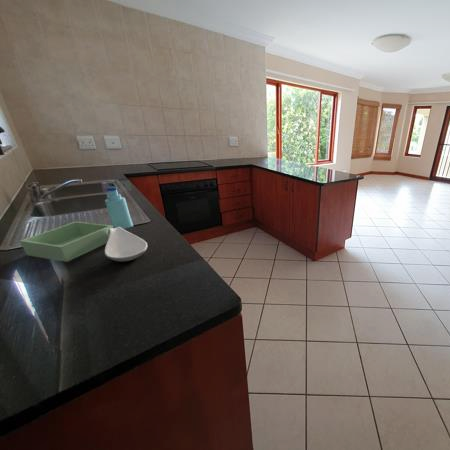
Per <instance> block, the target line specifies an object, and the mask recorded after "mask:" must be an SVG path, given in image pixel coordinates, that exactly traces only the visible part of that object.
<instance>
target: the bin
mask: <svg viewBox="0 0 450 450" xmlns="http://www.w3.org/2000/svg"><path fill="white" fill-rule="evenodd" d="M113 228H114V227H113V225H110V224H101V223H95V222H94V223H93V222H85V221H79V220H77V221H73V222H70V223H66V224H64V225H61V226H58V227H56V228H54V229H53V228H52V229H50V230H47V231H44V232H42V233H41V232H40V233H38V234H36V235H32V236H29V237H26V238H23V239H21V240H19V242H20V245H21V247H22V248H23V250H24V253H25V254H26V256H27V257H28V256H29V257H34V258H42V259H46V260H47V259H48V260H53V261H59V262H65V263H68V262H70V261H73V260H74V259H76V258H78V257H80V256H83V255H85V254H87V253H89V252H91V251H93V250H95V249H98V248H99V247H102V246H104V245H106V244H107V241H108V230H109V229H113Z"/></svg>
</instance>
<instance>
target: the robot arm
mask: <svg viewBox="0 0 450 450" xmlns="http://www.w3.org/2000/svg"><path fill="white" fill-rule="evenodd" d="M2 133H6V130H5V129H4V128H3V127H2V126H1V125H0V134H2ZM2 145H3V141H2V139H1V138H0V156H5V153H4V150H3V148H2Z"/></svg>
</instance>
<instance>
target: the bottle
mask: <svg viewBox="0 0 450 450" xmlns="http://www.w3.org/2000/svg"><path fill="white" fill-rule="evenodd" d="M105 190H106V192H107V193H108V195H106V198H107V199H105V200H104V203H105V206H106V209H107V212H108V214H109V219H110V221H111V223H112V227H113V228H117V227H121V228H123V229H124V230H126V229H129V228H131V227H134V223H133V220H132V217H131V214H130V211H129V207H128V204H127V200H126V198H125V197H124V196H122V194H120V193H118V187H117V186H116V185H114V186H113V185H112V186H106V187H105Z"/></svg>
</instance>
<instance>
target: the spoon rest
mask: <svg viewBox="0 0 450 450" xmlns="http://www.w3.org/2000/svg"><path fill="white" fill-rule="evenodd" d="M147 249H148V242H146V240H145V239H143V238H141V237H139V236H138V235H136V234H133V233H132V232H129V231H127V230H126V229H123V228H121V227H117V228H114V227H113V229H109V230H108V241H107V243H106V244H105V247H104V255H105V257H107V258H108V259H109V260H113V261H115V262H130V261H133V260H136V259H137V258H140V257H141V256H142V255H143V254H144V253H146V251H147Z"/></svg>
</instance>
